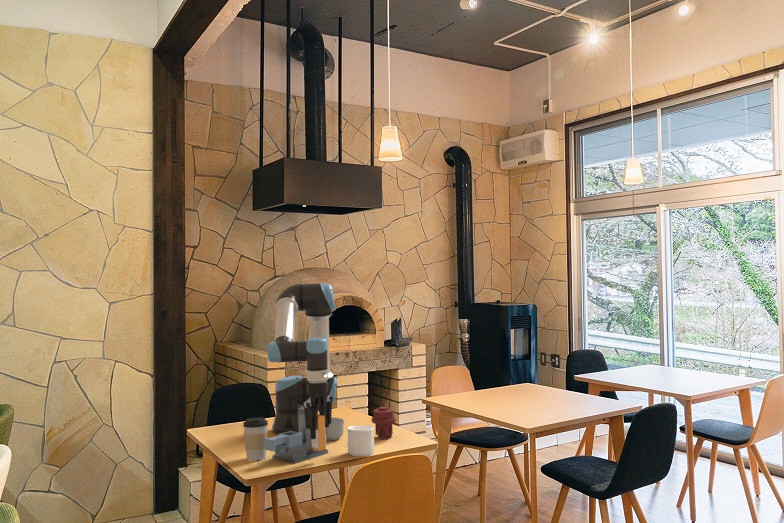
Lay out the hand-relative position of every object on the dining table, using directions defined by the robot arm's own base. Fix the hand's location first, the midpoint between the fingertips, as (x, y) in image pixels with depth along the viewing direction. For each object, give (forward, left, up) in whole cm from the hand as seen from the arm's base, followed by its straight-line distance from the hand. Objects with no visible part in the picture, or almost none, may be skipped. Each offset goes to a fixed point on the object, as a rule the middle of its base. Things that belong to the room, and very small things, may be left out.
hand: (319, 446), depth 230 cm
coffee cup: (-23, -10, -6) cm, 26 cm away
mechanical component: (-3, +40, -6) cm, 40 cm away
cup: (+5, +17, -6) cm, 18 cm away
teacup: (-20, +25, -6) cm, 32 cm away
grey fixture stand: (-12, +2, -6) cm, 13 cm away
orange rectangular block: (0, 0, -1) cm, 1 cm away
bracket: (-12, -7, -3) cm, 14 cm away
